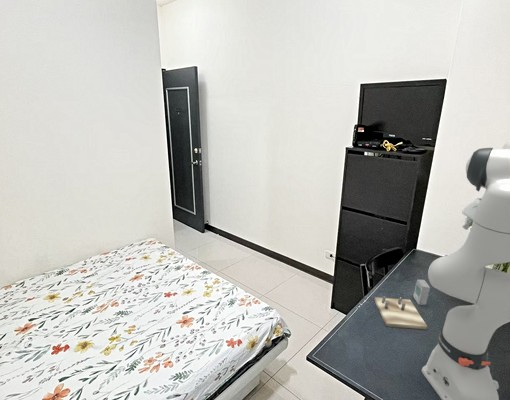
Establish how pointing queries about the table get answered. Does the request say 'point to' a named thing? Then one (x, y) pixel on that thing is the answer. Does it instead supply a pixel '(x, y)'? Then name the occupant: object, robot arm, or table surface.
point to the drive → (421, 292)
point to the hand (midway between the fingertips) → (473, 234)
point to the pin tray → (399, 313)
